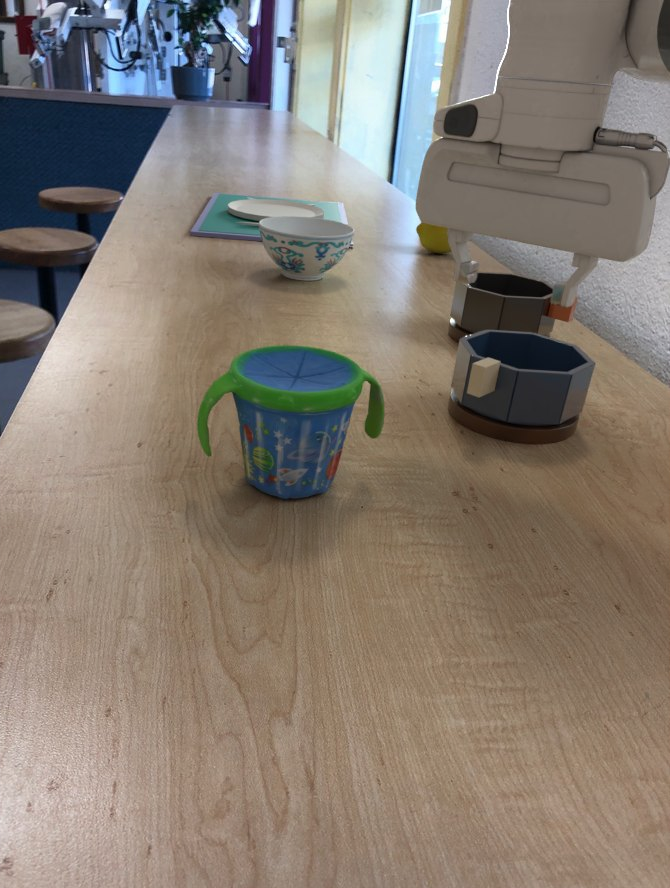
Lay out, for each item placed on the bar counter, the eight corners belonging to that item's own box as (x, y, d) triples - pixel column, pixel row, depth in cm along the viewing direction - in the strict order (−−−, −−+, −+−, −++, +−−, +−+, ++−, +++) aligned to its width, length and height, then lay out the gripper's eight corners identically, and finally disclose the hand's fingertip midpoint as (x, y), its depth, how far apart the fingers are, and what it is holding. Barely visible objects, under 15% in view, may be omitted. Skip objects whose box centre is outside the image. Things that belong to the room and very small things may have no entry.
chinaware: (368, 282, 126) (374, 232, 123) (295, 292, 118) (299, 239, 114) (308, 260, 136) (312, 214, 132) (238, 268, 128) (239, 219, 124)
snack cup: (206, 519, 60) (209, 395, 55) (187, 456, 69) (188, 345, 64) (396, 506, 64) (415, 389, 59) (356, 448, 73) (369, 342, 68)
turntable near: (567, 401, 87) (570, 388, 87) (584, 452, 76) (588, 438, 75) (447, 385, 89) (450, 372, 88) (447, 433, 77) (450, 419, 77)
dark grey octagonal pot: (435, 323, 104) (443, 277, 101) (480, 307, 112) (488, 264, 109) (543, 355, 96) (555, 306, 93) (583, 334, 104) (595, 289, 101)
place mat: (214, 196, 185) (214, 185, 184) (342, 206, 186) (343, 196, 185) (190, 235, 146) (190, 223, 145) (352, 248, 147) (354, 235, 146)
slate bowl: (493, 371, 89) (504, 319, 86) (597, 406, 82) (612, 351, 79) (414, 403, 79) (423, 346, 76) (525, 447, 72) (540, 386, 69)
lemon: (414, 255, 146) (421, 210, 142) (410, 246, 153) (416, 202, 149) (472, 260, 146) (481, 215, 142) (465, 250, 153) (473, 207, 149)
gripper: (690, 135, 60) (639, 313, 67) (454, 109, 71) (432, 265, 78) (664, 137, 56) (613, 327, 63) (418, 110, 67) (397, 275, 73)
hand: (511, 292), depth 70 cm, fingers open, 8 cm apart
